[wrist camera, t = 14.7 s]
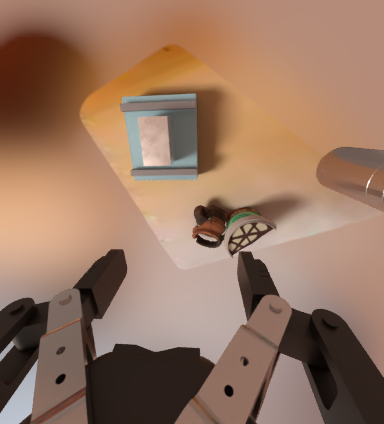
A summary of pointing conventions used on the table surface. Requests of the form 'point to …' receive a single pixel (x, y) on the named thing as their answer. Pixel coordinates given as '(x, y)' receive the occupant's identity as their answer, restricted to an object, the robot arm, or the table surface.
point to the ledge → (183, 134)
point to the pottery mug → (210, 225)
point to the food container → (245, 229)
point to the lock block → (157, 140)
